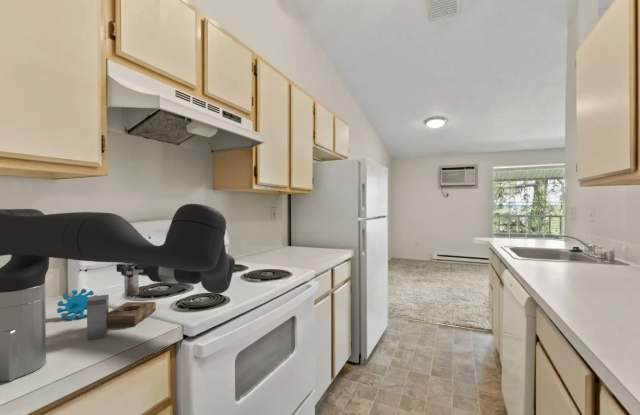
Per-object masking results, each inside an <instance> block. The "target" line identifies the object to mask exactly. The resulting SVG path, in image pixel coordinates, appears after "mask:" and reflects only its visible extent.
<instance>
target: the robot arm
mask: <svg viewBox="0 0 640 415" xmlns="http://www.w3.org/2000/svg"><path fill="white" fill-rule="evenodd" d="M226 230H227V220H226V218H225V216H224V215H223V214H222V213H221V212H220V211H219V210H217V209H215V208H213V207H211V206H208V205H205V204H200V203H186V204H182V205H181V206H180V207H178V208H177V210H176V211H175V213H174V215H173V217H172V220H171V223H170V225H169V228H168V231H167V234H166V236H165V240H164V243H163V244H160V245H155V244H153V243H152V242H150V241H149V240H148V239H147V238H145V237H144V236H143V235H142V234H141V233H140V232H139V231H138V230H137V229H136V228H135V227H134V226H133V224H131V223H130V222H129V221H128V220H126V219H125V218H124V217H122V216H120V215H119V214H116V213H113V212H112V213H111V212H98V211H97V212H96V211H95V212H94V211H93V212H92V211H77V212H62V213H59V212H58V213H49V214H46V213H45V214H44V213H43V212H42V211H41V210H39V209H35V208H33V209H32V208H8V209H7V208H1V209H0V257H3V256H11V257H10V259H9V261H7V262H6V263H5V264H4V265H3V266H1V267H0V382H11V381H14V380H15V379H17V378H20V377H23V376H26V375H28V374H29V375H30V374H31V373H33V372H35V371H37V370H39V369H40V368H42V367H43V366H44V365H46V363H47V334H46V333H47V332H46V331H47V328H46V326H47V325H46V323H47V322H46V316H47V315H46V276H47V272H48V270H49V267H50V258H53V259H60V260H61V259H62V260H63V259H64V260H73V261H81V262H94V263H95V262H96V263H118V264H116V269H115V270H116V272H118V273H120V275H121V276H123V277H124V276H126V277H129V278H131V277H133V275H138V276H142V277H148V279H149V280H150V281H152V282H154V283H163V284H185V285H186V284H187V285H188V284H189V285H197V284H199V283H201V286H202V288H203V289H204V290H205V291H207V292H208V293H211V294H215V295H217V294H223V293H225V292H226V291H228V290H229V288H230V286H231V281H232V278H233V274H234V271H235V265H236V261H235V258H234V257H233V256H232V255H231V254H229V253H227V250H226V244H225V236H226V232H227V231H226ZM124 263H133V264H124ZM137 265H138V266H137Z"/></svg>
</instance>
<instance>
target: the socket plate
mask: <svg viewBox="0 0 640 415" xmlns="http://www.w3.org/2000/svg"><path fill="white" fill-rule="evenodd" d="M155 310H156V311H157V308H156V301H130V302H129V301H126V302H125V303H122V304H121V305H119V306H117V307H116V308H113V309H112V310H110V311H109V328H111V327H136V326H137V325H139V324H140V323H142V321H144V320H145V319H148V317H149V316H151V315H152V314H154V313H155V312H156V311H155ZM154 311H155V312H154ZM153 312H154V313H153Z"/></svg>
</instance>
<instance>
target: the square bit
mask: <svg viewBox="0 0 640 415" xmlns="http://www.w3.org/2000/svg"><path fill="white" fill-rule="evenodd" d="M88 297H89V299H88V300H87V309H86V329H87V330H86V334H87V335H86V338H87V339H86V340H87V341H92V340H98V339H105V338H107V336H108V335H109V330H110V329H109V328H110V327H109V312H110V311H109V308H110V307H109V300H110V299H109V298H110V297H109V294H102V295H101V294H100V295H97V296H95V295H90V296H88Z"/></svg>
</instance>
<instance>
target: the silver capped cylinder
mask: <svg viewBox="0 0 640 415" xmlns="http://www.w3.org/2000/svg"><path fill="white" fill-rule="evenodd" d="M123 264H133V263H123ZM137 266H138V265H137ZM123 277H124V279H123V280H124V281H123V283H124V297H127V298H129V297H135V296H138V295H139V294H140V293H139V292H140V288H139V280H140V279H139V278H140V277H139V275H133V277H131V278H129V277H126V276H123Z"/></svg>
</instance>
